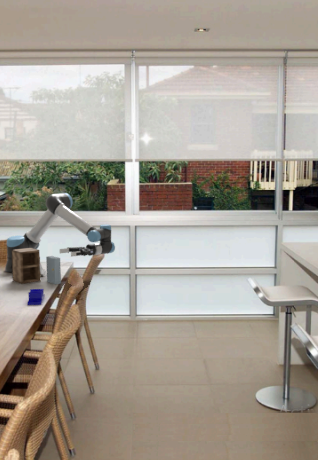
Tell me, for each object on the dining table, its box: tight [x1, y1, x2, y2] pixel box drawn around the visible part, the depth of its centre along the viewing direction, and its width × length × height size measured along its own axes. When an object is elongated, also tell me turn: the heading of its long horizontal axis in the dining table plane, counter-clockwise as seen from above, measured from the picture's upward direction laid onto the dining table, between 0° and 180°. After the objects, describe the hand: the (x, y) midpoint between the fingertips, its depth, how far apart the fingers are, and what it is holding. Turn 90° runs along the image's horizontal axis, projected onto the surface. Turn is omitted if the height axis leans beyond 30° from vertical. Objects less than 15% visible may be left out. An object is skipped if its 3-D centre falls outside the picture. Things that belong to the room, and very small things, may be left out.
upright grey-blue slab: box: [45, 255, 62, 285], centre depth 373 cm, size 10×5×16 cm, turn 41°
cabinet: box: [11, 248, 42, 285], centre depth 377 cm, size 12×14×20 cm
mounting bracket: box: [27, 288, 46, 306], centre depth 328 cm, size 18×7×6 cm, turn 5°
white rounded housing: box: [40, 262, 47, 278], centre depth 398 cm, size 17×5×10 cm, turn 6°
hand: (65, 252), depth 377 cm, fingers open, 13 cm apart
